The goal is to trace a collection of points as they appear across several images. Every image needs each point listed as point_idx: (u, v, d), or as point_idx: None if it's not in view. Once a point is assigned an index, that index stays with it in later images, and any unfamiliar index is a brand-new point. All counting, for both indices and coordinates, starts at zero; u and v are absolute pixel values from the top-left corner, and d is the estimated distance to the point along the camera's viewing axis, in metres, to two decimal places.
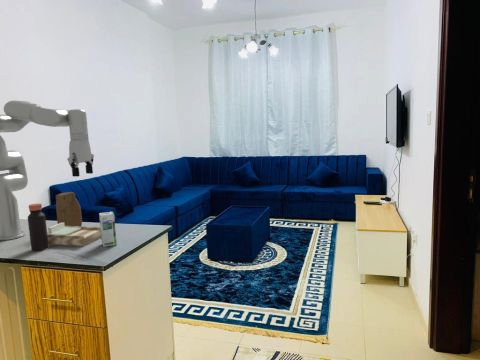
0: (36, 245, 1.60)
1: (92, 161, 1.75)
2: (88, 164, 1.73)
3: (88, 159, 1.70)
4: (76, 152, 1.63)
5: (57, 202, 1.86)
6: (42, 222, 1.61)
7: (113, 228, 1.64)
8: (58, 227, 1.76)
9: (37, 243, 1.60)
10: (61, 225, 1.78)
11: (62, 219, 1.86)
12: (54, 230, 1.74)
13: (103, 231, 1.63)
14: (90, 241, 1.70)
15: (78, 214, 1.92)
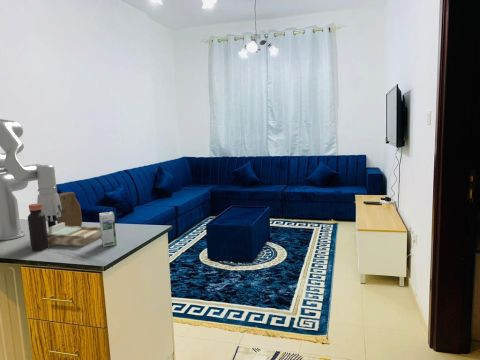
0: (36, 245, 1.60)
1: None
2: None
3: None
4: (60, 204, 1.75)
5: None
6: (42, 222, 1.61)
7: (113, 228, 1.64)
8: (58, 227, 1.76)
9: (37, 243, 1.60)
10: (62, 225, 1.78)
11: (62, 219, 1.86)
12: (54, 230, 1.74)
13: (103, 231, 1.63)
14: (90, 241, 1.70)
15: (78, 214, 1.92)
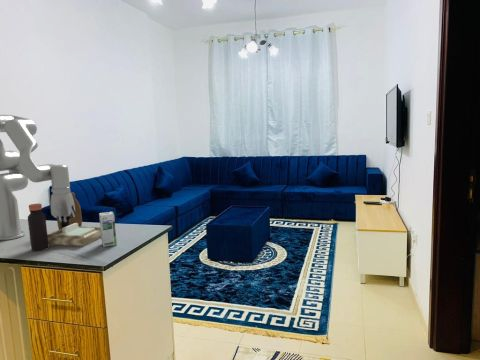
0: (36, 245, 1.60)
1: None
2: (64, 219, 1.74)
3: None
4: (73, 204, 1.73)
5: None
6: (42, 222, 1.61)
7: (113, 228, 1.64)
8: (72, 227, 1.74)
9: (37, 243, 1.60)
10: (75, 226, 1.77)
11: None
12: (68, 231, 1.72)
13: (103, 231, 1.63)
14: (90, 241, 1.70)
15: (78, 214, 1.92)
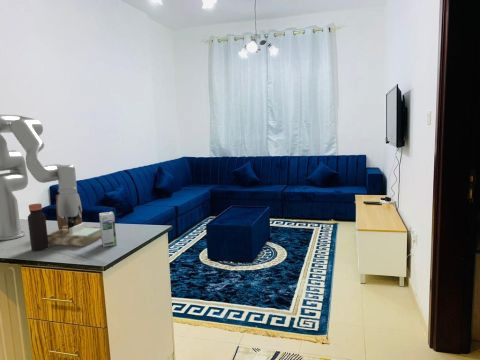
0: (36, 245, 1.60)
1: None
2: (70, 219, 1.74)
3: None
4: (80, 205, 1.73)
5: None
6: (42, 222, 1.61)
7: (113, 228, 1.64)
8: (78, 228, 1.73)
9: (37, 243, 1.60)
10: (82, 226, 1.76)
11: (62, 219, 1.86)
12: (75, 231, 1.71)
13: (103, 231, 1.63)
14: (90, 241, 1.70)
15: None
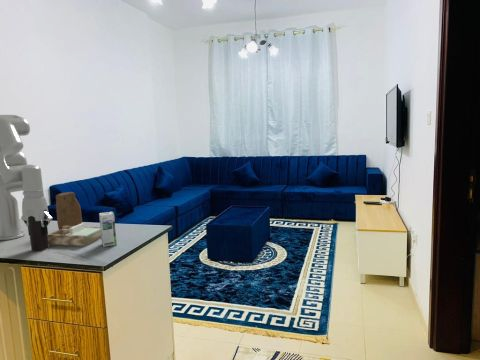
0: (36, 245, 1.60)
1: None
2: None
3: None
4: (47, 208, 1.62)
5: (57, 202, 1.86)
6: None
7: (113, 228, 1.64)
8: (78, 228, 1.73)
9: (37, 243, 1.60)
10: (82, 226, 1.76)
11: (62, 219, 1.86)
12: (75, 231, 1.71)
13: (103, 231, 1.63)
14: (90, 241, 1.70)
15: (78, 214, 1.92)
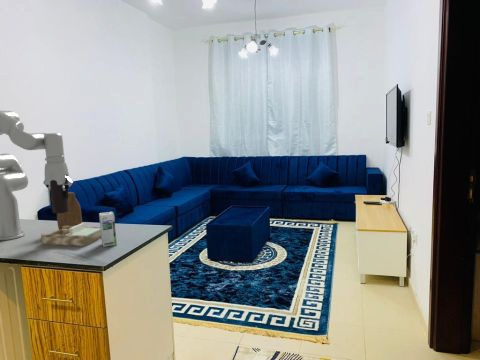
0: (57, 207, 1.70)
1: None
2: None
3: None
4: (68, 173, 1.71)
5: None
6: None
7: (113, 228, 1.64)
8: (78, 228, 1.73)
9: (58, 206, 1.70)
10: (82, 226, 1.76)
11: (62, 219, 1.86)
12: (75, 231, 1.71)
13: (103, 231, 1.63)
14: (90, 241, 1.70)
15: (78, 214, 1.92)
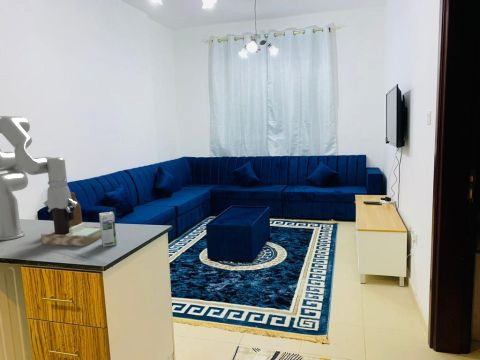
0: None
1: None
2: None
3: None
4: (70, 197, 1.73)
5: None
6: (66, 214, 1.73)
7: (113, 228, 1.64)
8: (78, 228, 1.73)
9: (61, 233, 1.72)
10: (82, 226, 1.76)
11: None
12: (75, 231, 1.71)
13: (103, 231, 1.63)
14: (90, 241, 1.70)
15: (78, 214, 1.92)
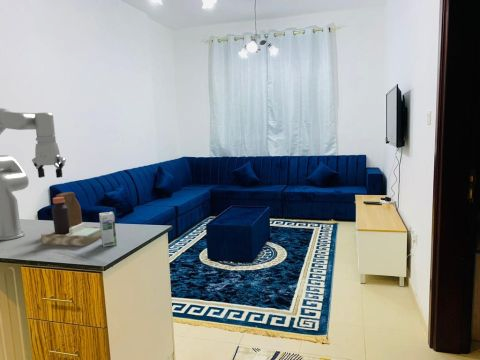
0: None
1: None
2: (41, 168, 1.72)
3: None
4: (59, 154, 1.70)
5: None
6: (65, 214, 1.73)
7: (113, 228, 1.64)
8: (78, 228, 1.73)
9: (61, 233, 1.72)
10: (82, 226, 1.76)
11: None
12: (75, 231, 1.71)
13: (103, 231, 1.63)
14: (90, 241, 1.70)
15: (78, 214, 1.92)
